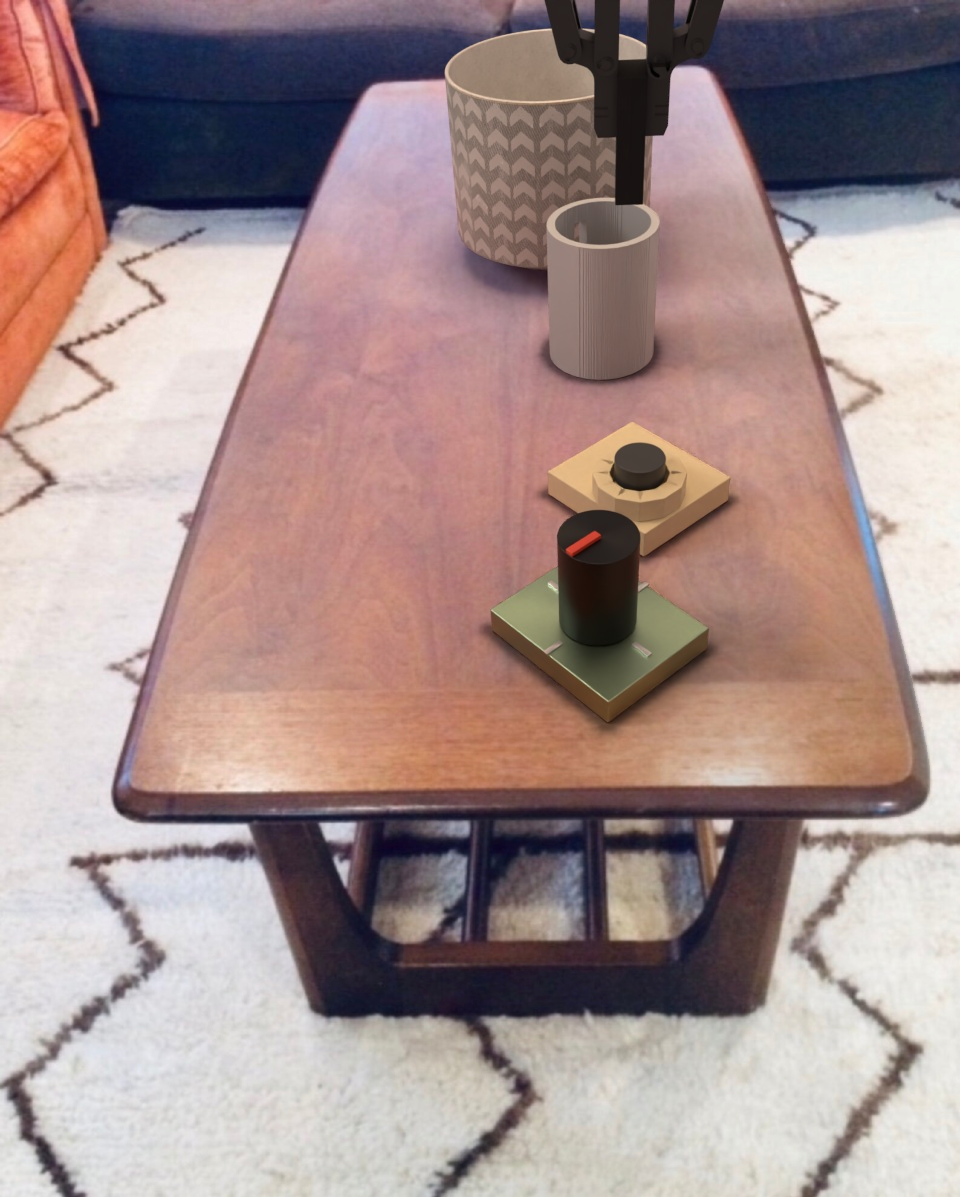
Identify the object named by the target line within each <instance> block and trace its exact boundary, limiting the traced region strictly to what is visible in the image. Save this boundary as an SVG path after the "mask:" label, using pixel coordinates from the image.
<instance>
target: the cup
mask: <svg viewBox="0 0 960 1197" xmlns="http://www.w3.org/2000/svg"><path fill="white" fill-rule="evenodd" d="M577 222H579V242H575V241H574V223H577ZM660 225H661V221H660V216H659V214H658V213H657V212H656V211H655V210H654V209H653V208H651V207H650V208H649V207H648V206H646V205H644V204H643V205H615V198H593V199H586V200H580V201H577V202H573V203H570V204H568V205H565V206H563V207H561V208H559V209H557V210H556V211H555V212H553V213H552V214H551V216H550V217H549V218H548V220H547V225H546V227H547V265H548V270H547V299H548V300H547V301H548V302H547V303H548V304H547V305H548V334H549V335H548V337H549V338H548V340H549V356H550V359H551V362H552V363H553V364H554V365H555V367H557V368H558V369H559V370H561V371H562V372H564V373H566V374H568V375H570V376H573V377H577V378H581V379H584V380H585V379H587V380H596V381H601V380H602V381H603V380H604V381H605V380H615V379H620V378H624V377H628V376H631V375H634V374H635V373H637V372H640V371H641V370H643V368H645V367H646V366H647V365H648V364H649V363H650V362H651V361H652V358H653V356H654V347H655V346H654V345H655V328H656V327H655V326H656V310H657V308H656V307H657V286H658V267H659V266H658V265H659V248H660V246H659V244H660V229H661V228H660V227H661V226H660Z"/></svg>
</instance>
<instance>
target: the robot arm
mask: <svg viewBox="0 0 960 1197" xmlns="http://www.w3.org/2000/svg"><path fill="white" fill-rule="evenodd" d="M724 2H725V0H690V2H689V5H688V9H687V13H686V15H685V16H686V17H685V20H684V23H683V24H681V25H679V26H677V27H674V26H675V7H676V6H675V5H676V0H647V6H646V7H647V10H646V11H647V12H646V37H645V38H646V40H645V41H646V42H645V45H646V59H631V60H619V34H620V21H621V20H620V18H621V16H620V15H621V0H594V26H593V30H594V33H592V32H589V31H586V30H583V29H584V28H583V27H582V22H581V18H580V14H579V10H578V5H577V0H544V4H545V9H546V12H547V17H548V20H549V26H550V29H552V33H553V37H554V41H555V45H556V49H557V53H558V56H559V58H560V60H561V61H562V62H563V63H565V64H568V65H569V64H574V63H575V64H578V65H581V66H584V67H586V68H587V69H589V70H590V71H591V73H592V74H593V77H594V130H595V132H596V135H597V137H598V138H615V137H616V157H615V205H643V189H644V162H645V136H653V137H661V136H663V137H664V136H665V134H666V132H667V129H668V127H669V118H670V116H669V114H670V96H671V79H672V74H673V71H674V70H675V68H676V67H677V66H678V65H680V64H682V63H684V62H686V61H689V60H691V59H693V60H699V59H702V58H704V57H705V56H706V55H707V54H708V52H709V51H710V48H711V45H712V42H713V39H714V35H715V32H716V28H717V25H718V22H719V18H720V15H721V12H722V9H723V5H724Z"/></svg>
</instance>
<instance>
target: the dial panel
mask: <svg viewBox="0 0 960 1197" xmlns="http://www.w3.org/2000/svg"><path fill="white" fill-rule="evenodd" d="M490 622H491V630H492V631H493V633H495V634H496V635H497V636H499V637H500V638H501V639H502V640H504V641H505V642H506V643H508V644H509V645H510V646H511V647H513V648H514V649H515V650H516V651H518V653H520V654H521V655H523V656H524V657H525V658H526V659H527V660H529V661H530V662H531V663H533V664H534V665H535V666H536V667H537V668H539V669H540V670H541V671H542V672H544V673H545V674H546V675H548V676H549V677H550V678H551V679H552V680H554V681H555V682H556V683H558V685H560V686H561V687H562V688H564V689H565V690H566V691H568V692H569V693H570V694H571V695H573V696H574V697H575V698H576V699H578V701H580V702H581V703H582V704H584V705H585V706H586V707H587V708H589V709H590V710H591V711H592V712H594V713H595V714H596V715H597V716H599V717H600V718H601V719H603V720H604V721H605V722H606V723H611V721H612V720H614V719H615V718H617V717H618V716H619V715H620V714H622V713H623V712H624V711H626V710H627V709H628V708H630V707H631V706H633V705H634V704H635V703H637V701H640V700H641V699H642V698H643V697H644V696H646V695H647V694H649V693H650V692H652V691H653V690H654V689H655V688H656V687H658V686H660V685H661V684H662V683H663V682H664V681H666V680H667V679H668V678H670V677H672V676H673V675H674V674H675V673H677V672H678V671H679V670H681V669H682V668H684V667H685V666H686V665H688V664H689V663H690V662H691V661H693V660H694V659H696V658H697V657H698V656H699V655H701V654H702V653H703V652H705V651H706V650H707V648H708V640H709V631H710V628H709V627H708V626H707V625H706V624H704V623H703V622H700V620H698V619H696V618H695V617H694V616H692V615H690V614H689V613H688V612H686V611H685V610H683V609H681V608H680V607H679V606H678V605H676V604H674V603H673V602H672V601H670V600H668V599H667V598H665V597H664V596H663V595H661V594H659V593H658V592H656V591H655V590H654V589H652V588H651V587H650V583H649V582H647V581H644V582H641V581H640V580H639V581H638V602H637V622H636V625H635V627H634V629H633V631H632V632H631V633H630V634H629V635H628V636H627V637H626V638H624V639H622V640H621V641H619V642H616V643H613V644H609V645H602V646H595V645H587V644H583V643H580V642H578V641H576V640H574V639H572V638H571V637H569V636H568V635H567V634H566V633H565V632H564V631H563V629H562V627H561V625H560V622H559V597H558V565H557V566H555V567H554V568H552V569H551V570H549V571H548V572H546V573H544V574H542V576H540V577H538V578H537V579H535V580H533V581H532V582H531V583H529V584H528V585H526V586H524V587H523V588H521V589H520V590H518V591H517V592H515V593H514V594H512V595H511V596H509V597H507V598H506V599H504V600H503V601H501V602H499V603H498V604H496V605H495V606H493V607H492V608H491V609H490Z"/></svg>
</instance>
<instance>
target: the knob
mask: <svg viewBox="0 0 960 1197" xmlns="http://www.w3.org/2000/svg"><path fill="white" fill-rule="evenodd" d="M556 545H557V546H556V548H557V549H556V550H557V554H556V555H557V556H556V557H557V566H558V597H559V622H560V625H561V627H562V629H563V631H564V632H565V633H566V634H567V635H568V636H569V637H571V638H572V639H574V640H576V641H578V642H580V643H583V644H587V645H595V646H602V645H609V644H613V643H616V642H619V641H621V640H622V639H624V638H626V637H627V636H628V635H629V634H630V633H631V632H632V631H633V629H634V627H635V625H636V622H637V602H638V581H640V580H639V579H640V560H641V558H640V556H641V554H640V532H639V529H638V527H637V526H636V524H635V523H634V522H633V521H632V520H631V519H629V518H628V517H626V516H624V515H622V514H620V513H617V512H613V511H608V510H589V511H584V512H581V513H575V514H573V515H571V516H570V517H568V518H567V519H565V521H564V522H562V524H561V525H560V526H559V528H558V531H557V534H556Z"/></svg>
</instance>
